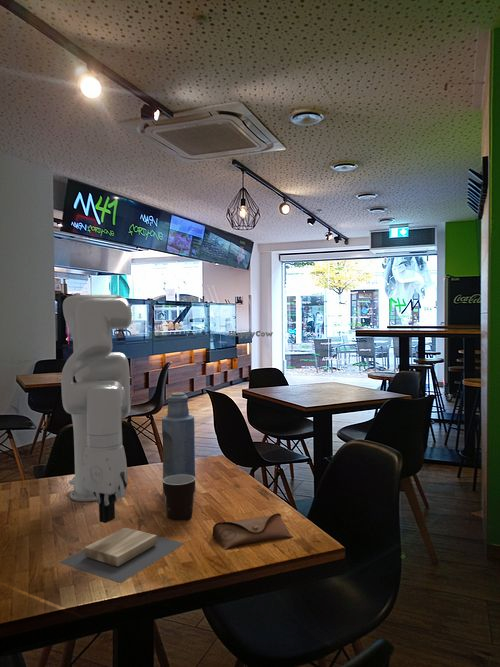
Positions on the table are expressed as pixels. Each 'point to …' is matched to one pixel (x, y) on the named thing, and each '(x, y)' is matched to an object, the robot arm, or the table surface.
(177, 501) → the coffee mug
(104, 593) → the table surface
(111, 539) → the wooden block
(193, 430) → the bottle
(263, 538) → the sunglasses case
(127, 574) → the mat
